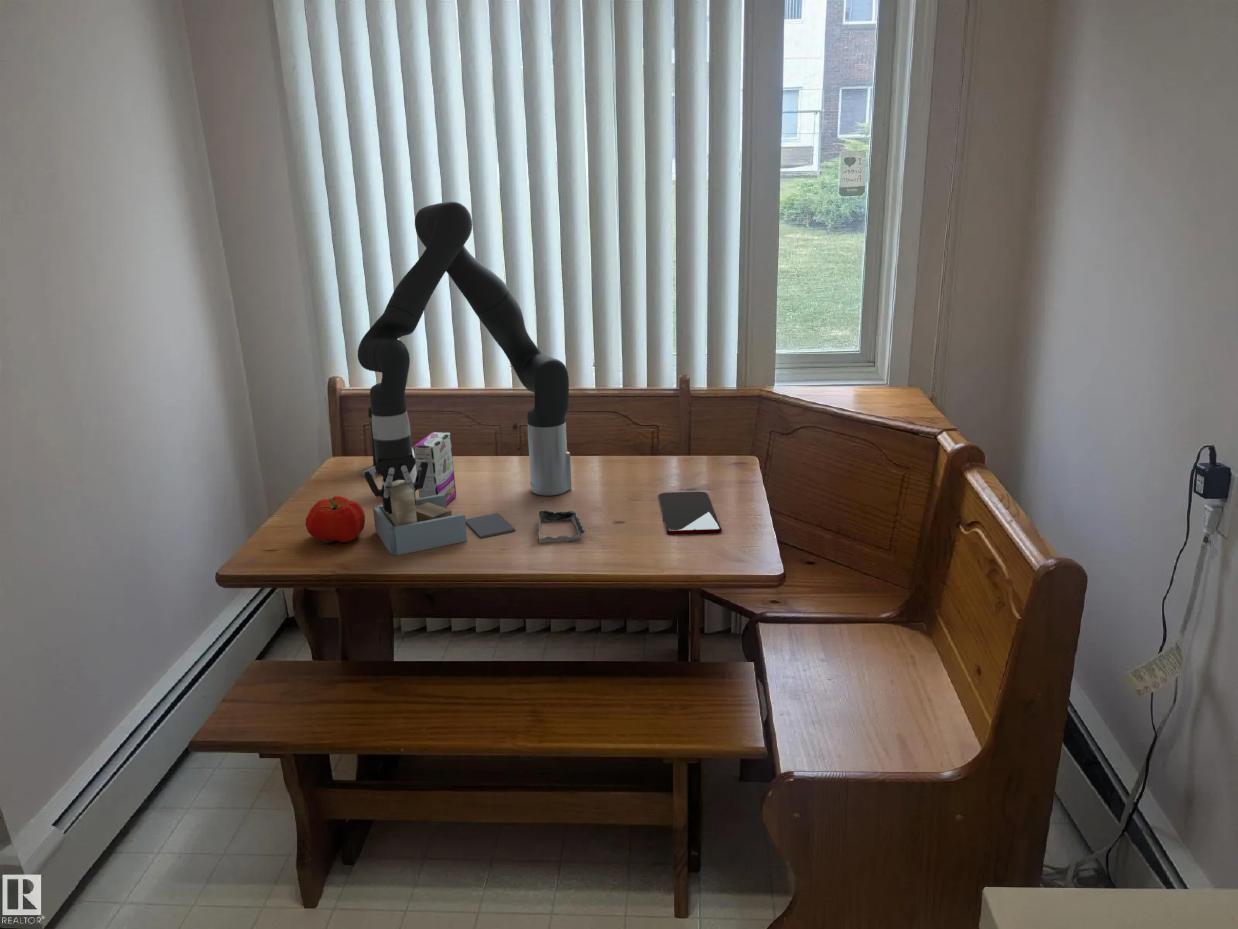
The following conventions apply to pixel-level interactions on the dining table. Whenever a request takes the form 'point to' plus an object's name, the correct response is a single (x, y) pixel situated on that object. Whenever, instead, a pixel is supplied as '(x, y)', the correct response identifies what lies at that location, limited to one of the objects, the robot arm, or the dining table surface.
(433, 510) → the offcut block upper
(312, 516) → the tomato
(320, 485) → the dining table surface
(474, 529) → the mat
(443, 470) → the candy bar box
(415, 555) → the dining table surface
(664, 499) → the smartphone
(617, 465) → the dining table surface
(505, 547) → the dining table surface
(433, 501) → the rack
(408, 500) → the beige hardcover book
